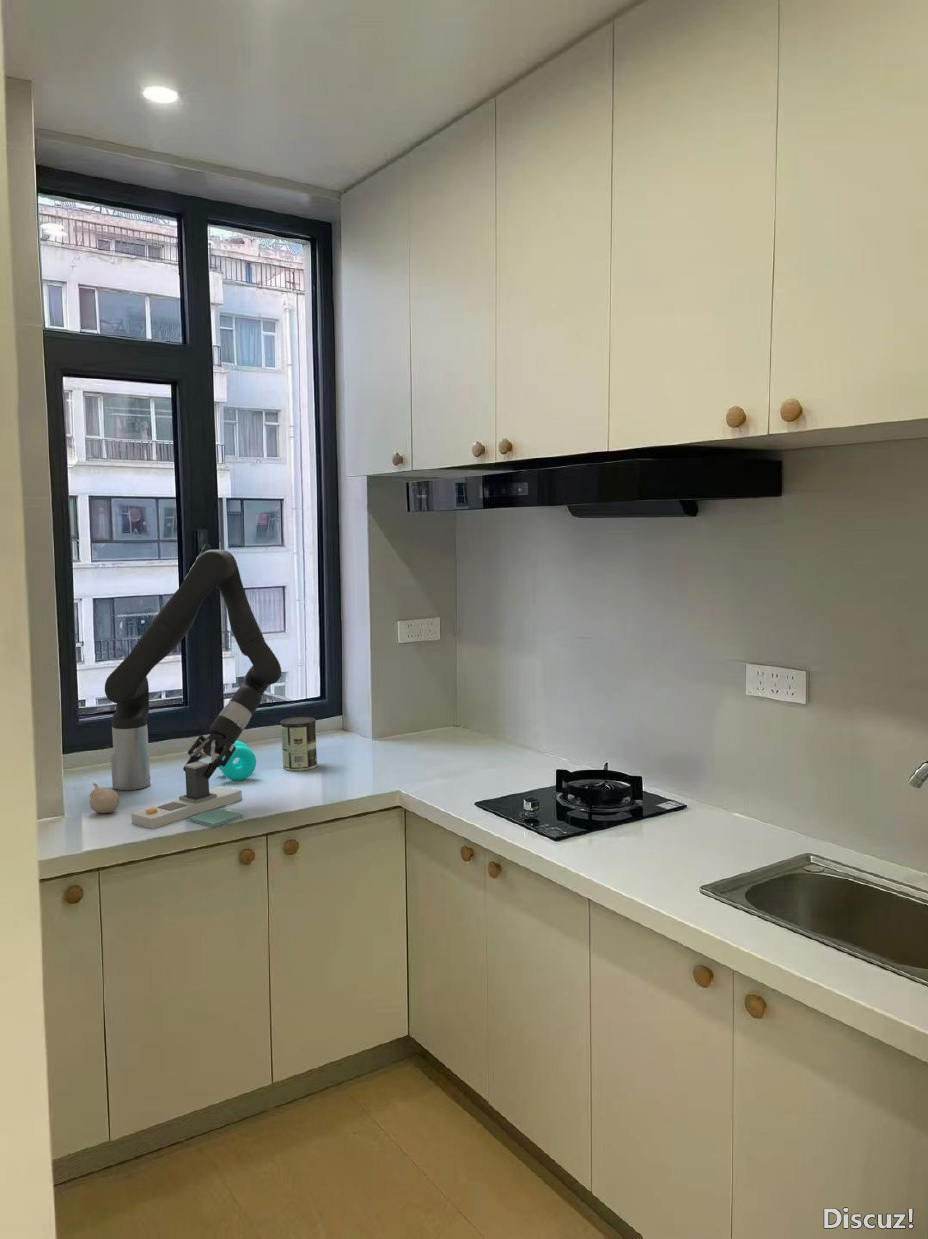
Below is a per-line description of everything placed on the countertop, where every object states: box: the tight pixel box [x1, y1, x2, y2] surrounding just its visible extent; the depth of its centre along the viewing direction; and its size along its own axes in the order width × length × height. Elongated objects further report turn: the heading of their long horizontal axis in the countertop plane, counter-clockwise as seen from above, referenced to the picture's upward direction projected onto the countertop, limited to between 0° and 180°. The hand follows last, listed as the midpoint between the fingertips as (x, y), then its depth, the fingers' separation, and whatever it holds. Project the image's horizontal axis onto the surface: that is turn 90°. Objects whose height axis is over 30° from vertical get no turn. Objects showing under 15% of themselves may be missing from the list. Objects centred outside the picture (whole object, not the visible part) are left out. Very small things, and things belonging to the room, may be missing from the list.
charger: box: [184, 761, 210, 800], centre depth 241 cm, size 4×4×9 cm
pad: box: [188, 807, 244, 828], centre depth 232 cm, size 9×9×1 cm
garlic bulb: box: [89, 782, 121, 814], centre depth 238 cm, size 7×6×8 cm
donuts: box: [218, 740, 257, 782], centre depth 269 cm, size 10×10×10 cm
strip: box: [130, 785, 243, 829], centre depth 239 cm, size 28×8×3 cm, turn 145°
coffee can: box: [280, 716, 318, 772], centre depth 280 cm, size 10×10×14 cm
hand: (195, 774), depth 240 cm, fingers open, 8 cm apart
